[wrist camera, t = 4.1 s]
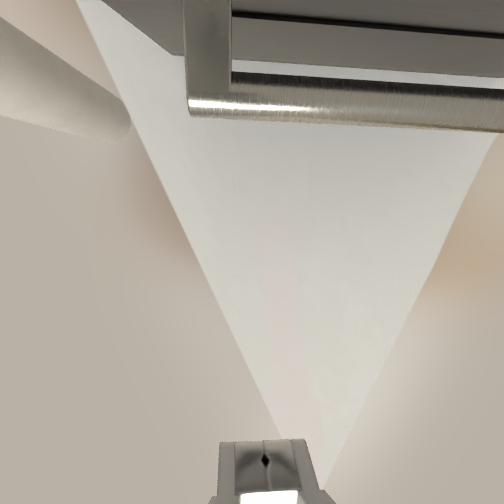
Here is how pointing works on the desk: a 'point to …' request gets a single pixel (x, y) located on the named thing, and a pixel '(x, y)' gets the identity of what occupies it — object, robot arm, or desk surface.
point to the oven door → (333, 58)
